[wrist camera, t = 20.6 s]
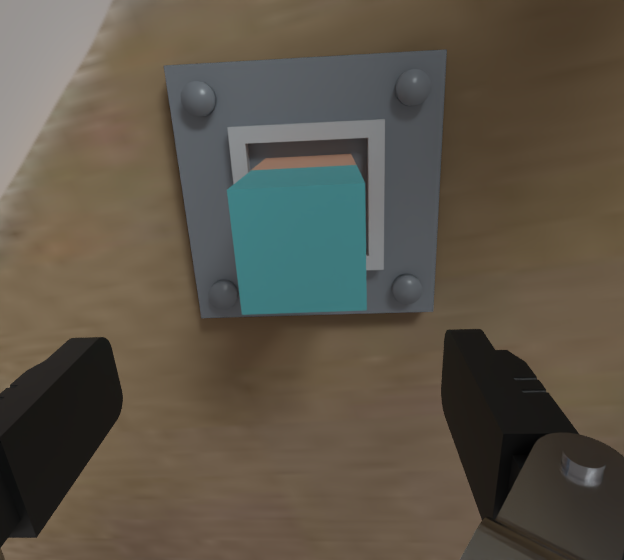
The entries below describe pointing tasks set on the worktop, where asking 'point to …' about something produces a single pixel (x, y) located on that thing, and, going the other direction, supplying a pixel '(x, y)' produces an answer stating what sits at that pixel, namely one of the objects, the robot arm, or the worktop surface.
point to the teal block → (300, 240)
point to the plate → (311, 142)
